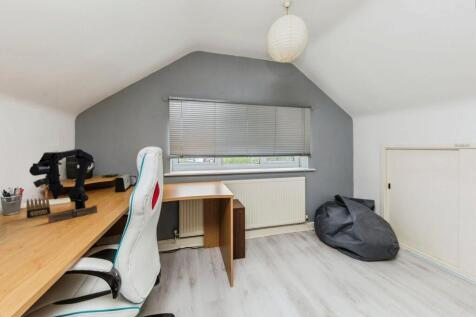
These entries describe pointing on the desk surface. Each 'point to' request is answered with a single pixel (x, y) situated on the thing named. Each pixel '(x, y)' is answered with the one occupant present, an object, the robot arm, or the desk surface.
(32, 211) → the ammunition clip
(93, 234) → the desk surface
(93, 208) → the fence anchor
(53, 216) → the fence gate
